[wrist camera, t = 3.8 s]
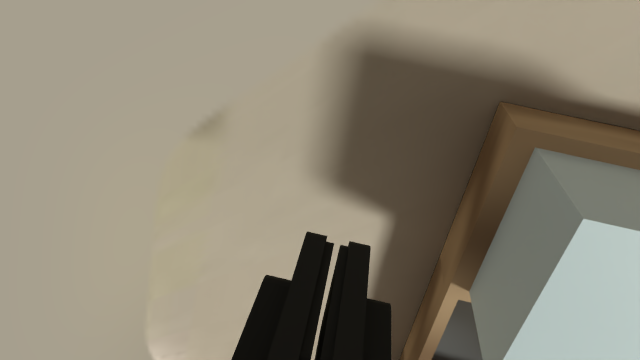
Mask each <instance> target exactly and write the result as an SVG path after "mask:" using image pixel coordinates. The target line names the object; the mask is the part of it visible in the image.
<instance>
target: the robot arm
mask: <svg viewBox="0 0 640 360" xmlns="http://www.w3.org/2000/svg"><path fill="white" fill-rule="evenodd" d="M326 239H327V236H324V235H320V234H315V233H311V232H307V233H306V236H305V239H304V242H303V245H302V249H301V252H300V255H299V258H298V261H297V265H296V268H295V271H294V274H293V278H292V281H291V280H286V279H282V278H278V277H274V276H269V275H266V276H265V277H264V279H263V282H262V284H261V287H260V289H259V292H258V294H257V297H256V299H255V302H254V304H253V307H252V309H251V312H250V314H249V317H248V319H247V322H246V325H245V327H244V330H243V332H242V335H241V337H240V340H239V342H238V345H237V347H236V350H235V352H234V355H233V357H232V360H311V355H312V350H313V345H314V340H315V335H316V330H317V325H318V320H319V315H320V310H321V305H322V300H323V295H324V291H325V286H326V281H327V276H328V271H329V266H330V261H331V256H332V251H333V246H334V243H330V242H326ZM369 261H370V246H368V245H364V244H359V243H355V242H351V241H350V242H349V245H348V247H347V246H343V245H340V249H339V253H338V257H337V261H336V265H335V270H334V274H333V278H332V282H331V287H330V291H329V295H328V299H327V303H326V308H325V312H324V316H323V320H322V325H321V330H320V335H319V340H318V345H317V350H316V356H315V360H391V305H390V304H389V303H385V302H381V301H376V300H372V299H368V298H367V288H368V274H369Z"/></svg>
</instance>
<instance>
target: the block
mask: <svg viewBox="0 0 640 360" xmlns="http://www.w3.org/2000/svg"><path fill="white" fill-rule="evenodd" d="M469 293H470V298H471V303H472V308H473V313H474V318H475V323H476V328H477V333H478V338H479V343H480V348H481V353H482V358H483V360H640V170H637V169H632V168H628V167H623V166H619V165H614V164H609V163H605V162H600V161H596V160H591V159H586V158H582V157H577V156H572V155H568V154H563V153H559V152H554V151H549V150H545V149H540V148H536V147H535V148H534V151H533V153H532V155H531V157H530V159H529V162H528V164H527V166H526V168H525V170H524V173H523V175H522V177H521V179H520V181H519V184H518V186H517V188H516V190H515V192H514V194H513V197H512V199H511V201H510V203H509V205H508V208H507V210H506V212H505V214H504V216H503V219H502V221H501V223H500V225H499V227H498V230H497V232H496V234H495V236H494V238H493V240H492V243H491V245H490V247H489V249H488V251H487V254H486V256H485V258H484V260H483V262H482V265H481V267H480V269H479V271H478V273H477V276H476V278H475V280H474V282H473V284H472V286H471V289H470V291H469Z"/></svg>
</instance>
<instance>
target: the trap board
mask: <svg viewBox="0 0 640 360" xmlns="http://www.w3.org/2000/svg"><path fill="white" fill-rule="evenodd" d="M535 147H536V148H540V149H545V150H549V151H554V152H559V153H563V154H568V155H572V156H577V157H582V158H586V159H591V160H596V161H600V162H605V163H609V164H614V165H619V166H623V167H628V168H632V169H637V170H640V131H637V130H632V129H628V128H623V127H618V126H613V125H609V124H604V123H599V122H594V121H590V120H585V119H580V118H575V117H571V116H566V115H561V114H556V113H552V112H547V111H542V110H538V109H533V108H528V107H523V106H519V105H514V104H509V103H504V102H500V103H499V105H498V108H497V111H496V113H495V116H494V118H493V121H492V123H491V126H490V129H489V131H488V134H487V136H486V139H485V141H484V144H483V147H482V149H481V152H480V154H479V157H478V159H477V162H476V165H475V167H474V170H473V172H472V175H471V177H470V180H469V183H468V185H467V188H466V190H465V193H464V195H463V198H462V201H461V203H460V206H459V208H458V211H457V213H456V216H455V219H454V221H453V224H452V226H451V229H450V231H449V234H448V237H447V239H446V242H445V244H444V247H443V249H442V252H441V255H440V257H439V260H438V262H437V265H436V267H435V270H434V272H433V275H432V278H431V280H430V283H429V285H428V288H427V290H426V293H425V296H424V298H423V301H422V303H421V306H420V308H419V311H418V314H417V316H416V319H415V321H414V324H413V326H412V329H411V332H410V334H409V337H408V339H407V342H406V344H405V347H404V350H403V352H402V355H401V357H400V360H483V358H482V353H481V348H480V343H479V338H478V333H477V328H476V323H475V318H474V313H473V308H472V303H471V298H470V293H469V291H470V289H471V286H472V284H473V282H474V280H475V278H476V276H477V273H478V271H479V269H480V267H481V265H482V262H483V260H484V258H485V256H486V254H487V251H488V249H489V247H490V245H491V243H492V240H493V238H494V236H495V234H496V232H497V230H498V227H499V225H500V223H501V221H502V219H503V216H504V214H505V212H506V210H507V208H508V205H509V203H510V201H511V199H512V197H513V194H514V192H515V190H516V188H517V186H518V184H519V181H520V179H521V177H522V175H523V173H524V170H525V168H526V166H527V164H528V162H529V159H530V157H531V155H532V153H533V151H534V148H535Z"/></svg>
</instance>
